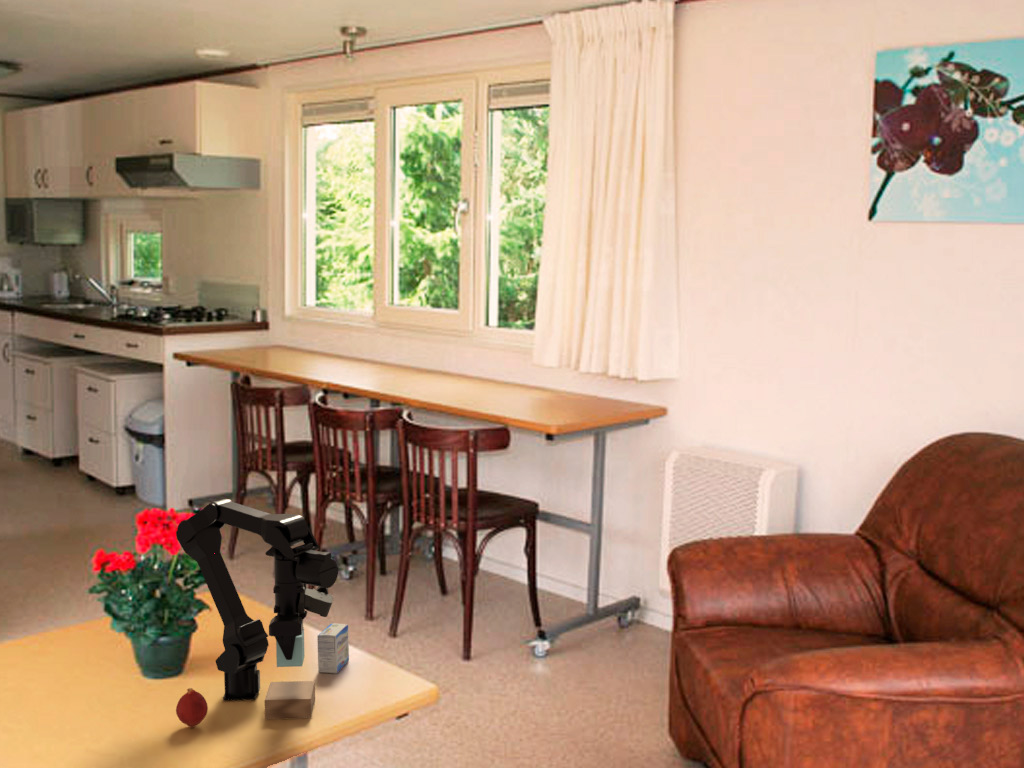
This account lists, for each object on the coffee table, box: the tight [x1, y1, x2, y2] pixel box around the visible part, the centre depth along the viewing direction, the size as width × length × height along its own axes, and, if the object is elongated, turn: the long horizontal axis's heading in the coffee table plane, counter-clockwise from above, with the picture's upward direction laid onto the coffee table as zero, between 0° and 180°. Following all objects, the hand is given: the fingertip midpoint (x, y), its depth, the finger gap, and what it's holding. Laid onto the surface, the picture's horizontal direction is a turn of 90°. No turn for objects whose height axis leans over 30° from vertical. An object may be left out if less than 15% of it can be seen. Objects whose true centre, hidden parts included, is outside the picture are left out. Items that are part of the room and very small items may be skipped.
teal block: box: [275, 628, 305, 668], centre depth 224 cm, size 5×5×6 cm
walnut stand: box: [264, 680, 316, 720], centre depth 225 cm, size 9×9×4 cm
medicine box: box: [316, 622, 350, 675], centre depth 247 cm, size 8×4×9 cm, turn 168°
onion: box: [175, 687, 209, 728], centre depth 217 cm, size 6×6×8 cm
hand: (290, 654), depth 224 cm, fingers closed on teal block, 5 cm apart
